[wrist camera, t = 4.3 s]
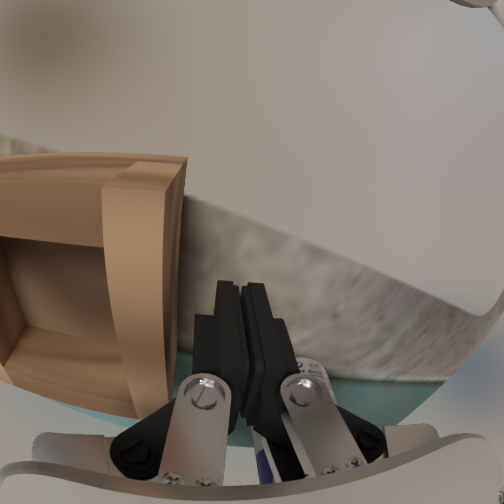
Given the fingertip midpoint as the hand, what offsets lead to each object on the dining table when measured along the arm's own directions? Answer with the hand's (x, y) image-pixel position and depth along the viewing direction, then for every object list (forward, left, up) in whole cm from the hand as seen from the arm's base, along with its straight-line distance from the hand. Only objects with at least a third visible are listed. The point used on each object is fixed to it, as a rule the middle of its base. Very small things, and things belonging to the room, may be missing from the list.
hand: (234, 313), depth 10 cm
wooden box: (0, -7, -3) cm, 8 cm away
